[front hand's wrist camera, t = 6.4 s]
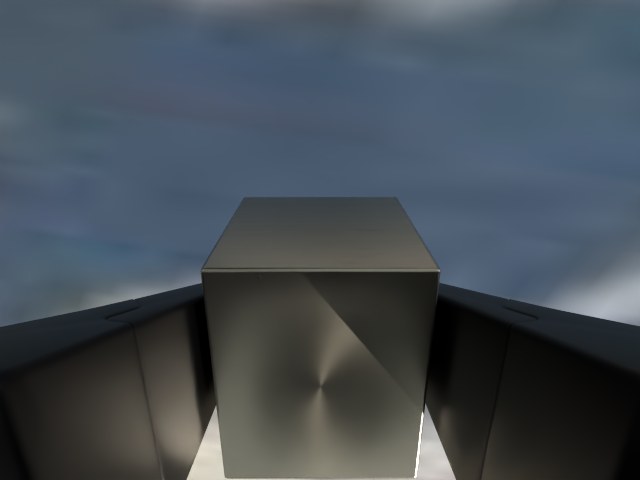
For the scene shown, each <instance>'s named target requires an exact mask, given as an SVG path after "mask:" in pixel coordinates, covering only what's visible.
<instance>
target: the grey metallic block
mask: <svg viewBox="0 0 640 480" xmlns="http://www.w3.org/2000/svg"><path fill="white" fill-rule="evenodd" d="M440 272H441V271H440V268H439V266H438V265H437V263H436V261H435V260H434V258H433V256H432V255H431V253H430V252H429V250H428V248H427V247H426V245H425V243H424V242H423V240H422V238H421V237H420V235H419V233H418V232H417V230H416V228H415V227H414V225H413V223H412V222H411V220H410V219H409V217H408V215H407V214H406V212H405V210H404V209H403V207H402V205H401V204H400V202H399V200H398V199H397V198H396V197H245V198H243V200H242V202H241V203H240V205H239V207H238V208H237V210H236V212H235V213H234V215H233V217H232V218H231V220H230V222H229V223H228V225H227V227H226V229H225V230H224V232H223V234H222V235H221V237H220V239H219V240H218V242H217V244H216V245H215V247H214V249H213V250H212V252H211V254H210V255H209V257H208V259H207V260H206V262H205V264H204V265H203V267H202V269H201V279H202V287H203V296H204V304H205V313H206V321H207V330H208V338H209V347H210V355H211V364H212V372H213V381H214V389H215V398H216V406H217V415H218V424H219V432H220V441H221V449H222V458H223V466H224V475H225V478H416V477H417V470H418V462H419V453H420V444H421V436H422V427H423V418H424V410H425V401H426V393H427V384H428V375H429V367H430V358H431V349H432V341H433V332H434V323H435V315H436V306H437V297H438V289H439V280H440Z"/></svg>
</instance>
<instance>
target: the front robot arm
mask: <svg viewBox="0 0 640 480" xmlns="http://www.w3.org/2000/svg"><path fill="white" fill-rule="evenodd" d="M425 403H426V406H427V408H428V411H429V413H430V416H431V418H432V421H433V423H434V426H435V428H436V431H437V433H438V436H439V438H440V440H441V443H442V445H443V448H444V450H445V453H446V455H447V458H448V460H449V463H450V465H451V468H452V470H453V473H454V475H455V478H456V480H640V326H635V325H630V324H625V323H620V322H615V321H610V320H605V319H600V318H595V317H590V316H585V315H580V314H575V313H570V312H565V311H561V310H556V309H551V308H547V307H542V306H538V305H533V304H529V303H524V302H520V301H516V300H511V299H509V300H508V299H505V298H501V297H497V296H492V295H488V294H484V293H480V292H476V291H471V290H467V289H463V288H459V287H455V286H450V285H446V284H442V283H439V289H438V297H437V306H436V315H435V323H434V332H433V341H432V349H431V358H430V367H429V375H428V384H427V393H426V401H425ZM215 406H216V398H215V389H214V381H213V372H212V364H211V355H210V347H209V338H208V330H207V321H206V313H205V304H204V296H203V287H202V283H200V284H196V285H192V286H188V287H183V288H179V289H175V290H171V291H167V292H163V293H159V294H154V295H150V296H146V297H142V298H138V299H135V300H133V299H131V300H127V301H123V302H118V303H114V304H110V305H105V306H101V307H96V308H92V309H87V310H82V311H78V312H73V313H68V314H63V315H58V316H53V317H48V318H43V319H38V320H33V321H28V322H23V323H19V324H14V325H9V326H4V327H0V480H186V479H187V477H188V474H189V472H190V469H191V467H192V464H193V462H194V459H195V457H196V454H197V452H198V449H199V447H200V444H201V442H202V439H203V437H204V434H205V431H206V429H207V426H208V424H209V421H210V419H211V416H212V414H213V411H214V409H215Z"/></svg>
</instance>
